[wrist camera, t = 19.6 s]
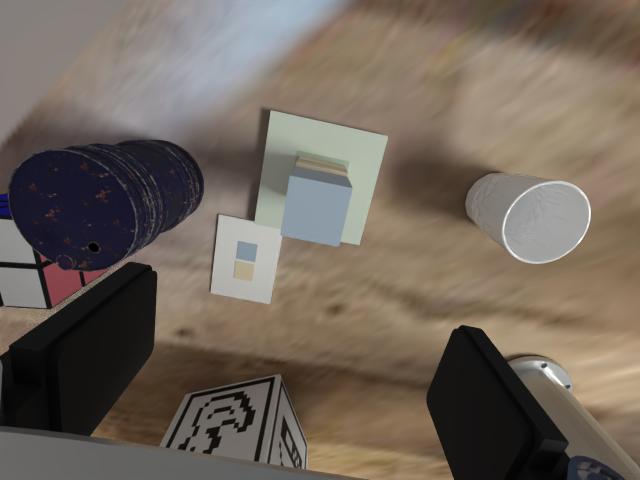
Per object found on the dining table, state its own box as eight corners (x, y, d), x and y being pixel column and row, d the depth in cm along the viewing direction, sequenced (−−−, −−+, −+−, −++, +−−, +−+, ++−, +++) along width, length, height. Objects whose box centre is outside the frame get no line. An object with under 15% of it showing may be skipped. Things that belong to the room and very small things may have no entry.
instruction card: (270, 303, 44) (269, 304, 44) (211, 291, 44) (210, 293, 44) (284, 226, 41) (283, 227, 40) (219, 214, 40) (218, 214, 40)
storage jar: (105, 155, 38) (-70, 180, 21) (181, 126, 37) (59, 126, 20) (148, 232, 41) (24, 308, 24) (218, 207, 40) (141, 268, 23)
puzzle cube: (98, 195, 40) (27, 217, 30) (110, 270, 43) (51, 311, 34) (15, 190, 40) (-81, 211, 30) (34, 266, 43) (-47, 306, 34)
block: (280, 373, 48) (261, 476, 34) (308, 446, 53) (302, 562, 39) (186, 393, 50) (131, 500, 36) (221, 462, 55) (185, 580, 40)
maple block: (334, 207, 39) (336, 222, 33) (293, 199, 38) (287, 212, 33) (344, 165, 37) (348, 172, 31) (300, 156, 37) (296, 162, 31)
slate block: (336, 225, 33) (339, 246, 27) (287, 216, 33) (279, 235, 27) (347, 176, 31) (352, 188, 26) (296, 166, 31) (289, 175, 25)
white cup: (448, 219, 40) (486, 248, 31) (479, 157, 38) (531, 167, 28) (505, 240, 41) (559, 274, 32) (539, 180, 39) (609, 198, 29)
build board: (358, 241, 41) (359, 245, 40) (256, 221, 41) (253, 224, 39) (386, 136, 37) (388, 136, 36) (272, 110, 36) (270, 110, 35)
